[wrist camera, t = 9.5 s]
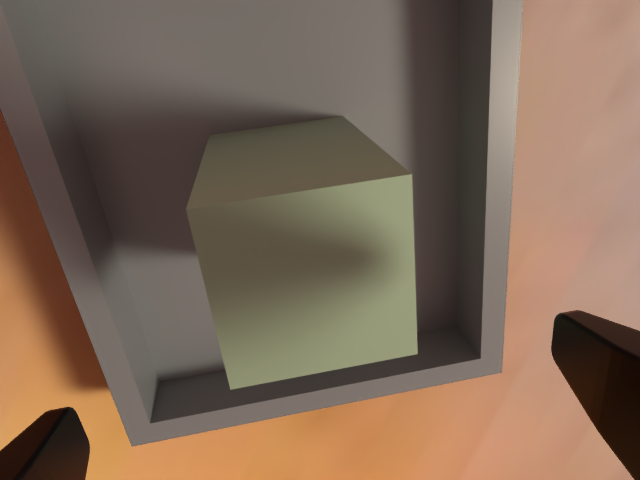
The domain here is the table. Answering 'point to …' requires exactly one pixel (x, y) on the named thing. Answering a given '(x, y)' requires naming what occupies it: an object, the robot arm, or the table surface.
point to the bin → (249, 113)
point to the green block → (304, 250)
